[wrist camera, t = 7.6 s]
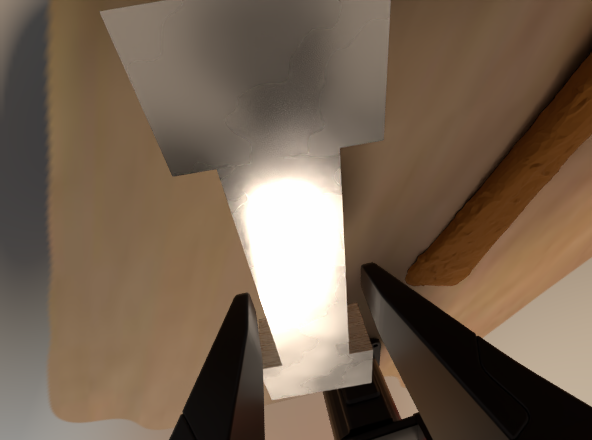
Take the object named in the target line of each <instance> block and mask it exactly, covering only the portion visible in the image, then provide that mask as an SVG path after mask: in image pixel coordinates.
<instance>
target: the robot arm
mask: <svg viewBox="0 0 592 440" xmlns="http://www.w3.org/2000/svg"><path fill="white" fill-rule="evenodd" d="M361 287H362V290H363V293H364V295H365V298H366V301H367V303H368V306H369V309H370V311H371V314H372V317H373V319H374V322H375V325H376V327H377V330H378V332H379V334H380V336H381V339H382V341H383V343H384V344H385V346H386V348H387V350H388V352H389V354H390V356H391V358H392V360H393V362H394V364H395V366H396V368H397V370H398V372H399V374H400V376H401V378H402V380H403V382H404V384H405V386H406V388H407V390H408V392H409V393H410V396H411V397H412V399H413V401H414V403H415V405H416V407H417V409H418V411H419V412H418V413H415V414H413V416H411V417H408V418H405V419H401V417H400V415H399V412H398V410H397V408H396V405H395V403H394V401H393V398H392V396H391V394H390V391H389V389H388V386H387V384H386V382H385V379H384V377H383V375H382V372H381V370H380V368H379V363H380V348H381V344H380V342H379V339H372V340H370V342H371V345H372V348H373V362H372V382H371V383H367V384H362V385H356V386H350V387H345V388H339V389H333V390H327V391H323V395H324V399H325V403H326V407H327V411H328V416H329V420H330V424H331V428H332V432H333V436H334V440H592V407H591V406H589V405H588V404H586V403H584V402H583V401H581V400H579V399H577V398H576V397H574V396H573V395H571V394H569V393H567V392H566V391H564V390H563V389H561V388H559V387H558V386H556V385H554V384H553V383H550V382H549V381H547V380H546V379H544V378H542V377H541V376H539V375H537V374H536V373H534V372H532V371H531V370H529V369H528V368H526V367H525V366H523V365H521V364H520V363H518V362H517V361H515V360H513V359H512V358H510V357H509V356H507V355H506V354H504V353H503V352H501V351H500V350H498V349H497V348H496V347H494V346H493V345H491V344H489V343H488V342H487V341H485V340H484V339H483V338H481V337H480V336H476V334H475V333H474V332H472V331H471V330H470V329H468V328H467V327H465V326H464V325H462V324H461V323H460V322H458V321H457V320H455V319H454V318H452V317H451V316H450V315H448V314H447V313H445V312H444V311H442V310H441V309H440V308H438V307H437V306H435V305H434V304H432V303H431V302H430V301H428V300H427V299H425V298H424V297H422V296H421V295H420V294H418V293H417V292H415V291H414V290H412V289H411V288H410V287H408V286H407V285H405V284H404V283H403V282H401V281H400V280H398V279H397V278H395V277H394V276H393V275H391V274H390V273H388V272H387V271H385V270H384V269H383V268H381V267H380V266H378V265H377V264H375V263H373V262H371V263H367V264H363V265H361ZM182 412H183V414H181V415H180V417H179V419H178V422H177V424H176V426H175V428H174V430H173V433H172V435H171V437H170V439H169V440H265V432H264V388H263V361H262V352H261V345H260V338H259V331H258V324H257V317H256V311H255V308H254V305H253V302H252V300H251V297H250V294H249V293H242V294H238V295H236V296H235V297H234V299H233V302H232V304H231V306H230V308H229V310H228V312H227V315H226V317H225V319H224V321H223V323H222V326H221V328H220V330H219V332H218V334H217V337H216V339H215V341H214V343H213V345H212V348H211V350H210V352H209V354H208V356H207V358H206V361H205V363H204V365H203V367H202V369H201V372H200V374H199V376H198V378H197V380H196V383H195V385H194V387H193V389H192V391H191V393H190V396H189V398H188V400H187V402H186V404H185V407H184V409H183V411H182Z"/></svg>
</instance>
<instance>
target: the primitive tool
mask: <svg viewBox="0 0 592 440" xmlns="http://www.w3.org/2000/svg"><path fill="white" fill-rule="evenodd" d="M591 134H592V52H591V53H590V55H589V56H588V57H587V58H586V59H585V61H584V62H583V63H582V64H581V65H580V66H579V68H578V69H577V70H576V71H575V73H574V74H573V75H572V76H571V77H570V79H569V80H568V82H567V83H566V84H565V86H564V87H563V88H562V90H561V91H560V92H559V93H557V94H556V96H555V98H554V100H553V101H552V102H551V103H550V104H549V105H548V106H547V107H546V108H545V109H544V110H543V111H542V113H541V114H540V115H539V116H538V117H537V119H536V121H535V122H534V123H533V125H532V126H531V127H530V129H529V130H528V131H527V132H526V133H525V134H524V136H523V137H522V138H521V139H520V140H519V141H518V142H517V143H516V144H515V146H514V147H513V148H512V150H511V151H510V152H509V154H508V155H507V156H506V157H505V158H504V160H503V161H502V162H501V163H500V165H499V166H498V167H497V168H496V169H495V170H494V172H493V173H492V174H491V176H490V177H489V178H488V179H487V180H486V181H485V183H484V184H483V185H482V186H481V188H480V189H479V190H478V191H477V192H476V194H475V195H474V196H473V197H472V198H471V199H470V200H469V201H468V202H467V203H466V204H465V205H464V207H463V209H462V210H461V211H459V212H458V213H457V215H456V217H455V218H454V220H452V221H451V223H450V224H449V226H448V227H447V228H446V229H445V230H444V231H443V232H442V233H441V234H440V235H439V237H438V238H437V239H436V240H435V241H434V243H433V244H432V245H431V246H430V247H429V248H428V250H427V251H426V252H424V253H423V254H422V255H420V256H418V260H417V261H416V263H415V264H413V265H412V266H411V267H410V268H409V269H408V274H407V275H406V277H405V280H406V283H407V284H409V285H412V286H420V285H422V286H424V285H435V286H453V285H456V284H458V283H459V282H461V281H462V280H463V279H465V278H466V277H467V276H468V275H469V274H470V273H471V271H472V269H473V268H474V267H475V266H476V265H477V263H478V262H479V261H480V260H481V258H482V257H483V256H484V255H485V254H486V253H487V252H488V250H489V249H490V248H491V247H492V245H493V244H494V243H495V242H496V241H497V240H498V239H499V237H500V236H501V235H502V234H503V233H504V232H505V231H506V230H507V229H508V228H509V226H510V225H511V224H512V222H513V221H514V220H515V219H516V218H517V217H518V215H519V214H520V213H521V212H522V211H523V210H524V208H525V207H526V206H527V205H528V203H529V202H530V201H531V200H532V199H533V198H534V197H535V195H536V194H537V193H538V192H539V191H540V190H541V189H542V188H543V186H544V185H545V184H547V183H548V182H549V181H550V180H551V179H552V177H553V176H554V175H555V174H556V173H557V172H559V169H560V167H561V166H562V165H563V164H564V163H565V162H566V160H567V159H568V158H569V156H571V155H572V154H573V153H574V152H575V151H576V149H577V148H578V147H579V146H580V145H581V144H582V143H583V142H584V141H585V140H586V139H587V138H588V137H589V136H590V135H591Z"/></svg>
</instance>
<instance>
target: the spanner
mask: <svg viewBox="0 0 592 440" xmlns="http://www.w3.org/2000/svg"><path fill="white" fill-rule="evenodd" d="M390 4H391V0H164V1H158V2H152V3H146V4H141V5H135V6H129V7H123V8H117V9H111V10H105V11H99V12H100V14H101V16H102V19H103V21H104V23H105V25H106V28H107V30H108V32H109V34H110V37H111V39H112V41H113V43H114V46H115V48H116V50H117V52H118V55H119V57H120V59H121V61H122V64H123V66H124V68H125V70H126V73H127V75H128V77H129V79H130V82H131V84H132V86H133V88H134V91H135V93H136V95H137V97H138V100H139V102H140V104H141V106H142V109H143V111H144V113H145V115H146V118H147V120H148V122H149V124H150V127H151V129H152V131H153V133H154V136H155V138H156V140H157V142H158V145H159V147H160V149H161V151H162V154H163V156H164V158H165V160H166V163H167V165H168V167H169V169H170V172H171V174H172V176H179V175H185V174H191V173H197V172H202V171H208V170H214V169H217V171H218V174H219V177H220V180H221V183H222V186H223V189H224V192H225V195H226V198H227V201H228V204H229V207H230V210H231V213H232V216H233V219H234V222H235V225H236V228H237V231H238V234H239V237H240V240H241V243H242V246H243V249H244V252H245V255H246V258H247V261H248V264H249V267H250V270H251V273H252V276H253V279H254V282H255V285H256V288H257V291H258V294H259V297H260V300H261V303H262V306H263V309H264V312H265V315H266V318H264V319H259V338H260V345H261V352H262V361H263V381H264V383H265V385H266V388H267V390H268V392H269V394H270V397H271V399H272V400H276V399H282V398H288V397H293V396H299V395H305V394H310V393H316V392H322V391H327V390H333V389H339V388H345V387H350V386H356V385H362V384H367V383H371V382H372V362H373V348H372V345H371V342H370V339H369V336H368V333H367V330H366V328H365V325H364V322H363V319H362V316H361V313H360V310H359V307H358V304H357V302H356V303H351V304H347V294H346V272H345V250H344V228H343V207H342V185H341V163H340V148H342V147H348V146H353V145H359V144H365V143H371V142H377V141H382V140H384V123H385V103H386V83H387V63H388V44H389V24H390Z"/></svg>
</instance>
